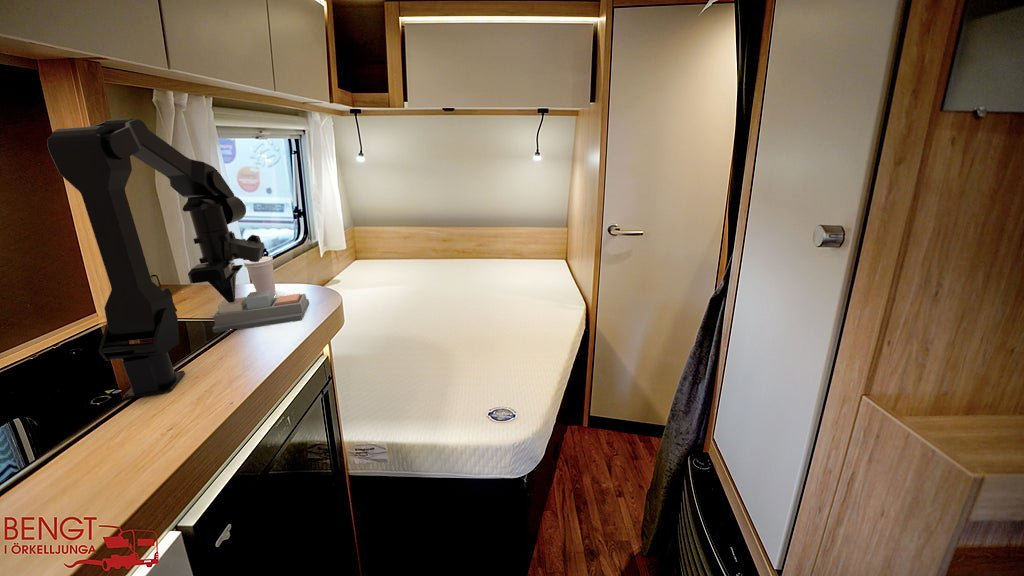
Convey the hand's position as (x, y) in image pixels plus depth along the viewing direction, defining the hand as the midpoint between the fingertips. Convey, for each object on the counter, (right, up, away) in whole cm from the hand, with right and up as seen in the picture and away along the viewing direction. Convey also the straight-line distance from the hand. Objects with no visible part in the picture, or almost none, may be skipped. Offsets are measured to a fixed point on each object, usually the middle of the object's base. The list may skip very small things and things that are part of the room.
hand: (231, 301), depth 100 cm
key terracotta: (+11, -2, +4) cm, 12 cm away
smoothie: (-1, 0, +16) cm, 16 cm away
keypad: (+6, -3, +3) cm, 7 cm away
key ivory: (0, -2, +1) cm, 2 cm away
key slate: (+5, -1, +2) cm, 6 cm away
